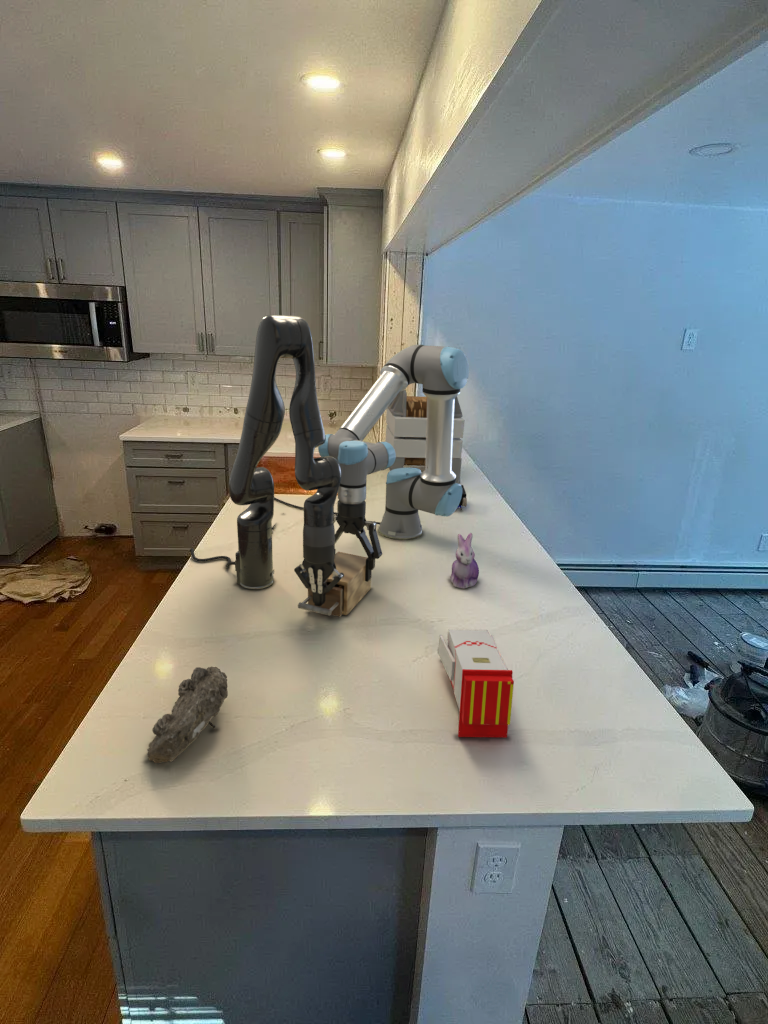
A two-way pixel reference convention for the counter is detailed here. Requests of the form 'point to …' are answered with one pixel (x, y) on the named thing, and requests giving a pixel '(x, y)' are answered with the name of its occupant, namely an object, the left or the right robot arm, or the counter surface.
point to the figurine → (464, 564)
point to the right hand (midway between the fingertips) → (349, 575)
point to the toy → (478, 682)
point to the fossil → (189, 713)
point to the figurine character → (463, 499)
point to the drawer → (326, 602)
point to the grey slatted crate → (417, 432)
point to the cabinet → (351, 579)
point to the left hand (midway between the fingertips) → (319, 604)
